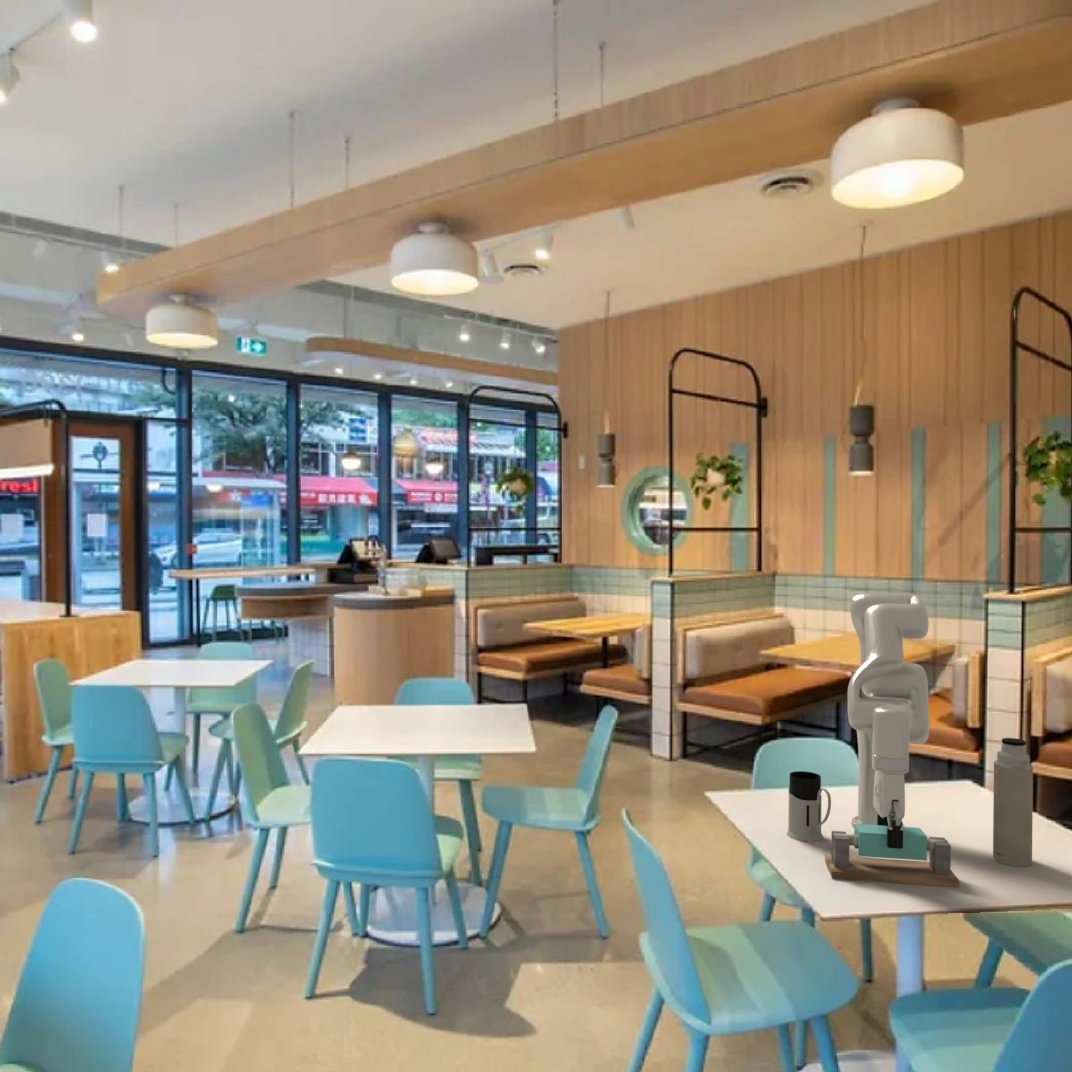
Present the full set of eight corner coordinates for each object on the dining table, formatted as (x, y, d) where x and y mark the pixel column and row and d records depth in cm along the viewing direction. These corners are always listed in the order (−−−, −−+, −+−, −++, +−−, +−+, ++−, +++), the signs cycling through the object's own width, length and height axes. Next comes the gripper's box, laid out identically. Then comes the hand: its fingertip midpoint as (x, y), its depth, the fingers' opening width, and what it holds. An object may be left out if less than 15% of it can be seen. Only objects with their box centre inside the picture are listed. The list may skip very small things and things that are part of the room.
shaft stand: (824, 861, 203) (825, 825, 203) (945, 869, 199) (945, 833, 199) (831, 878, 193) (832, 840, 193) (958, 887, 189) (959, 848, 189)
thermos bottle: (986, 853, 208) (987, 735, 208) (1019, 853, 209) (1020, 735, 209) (1005, 866, 200) (1006, 743, 200) (1039, 866, 201) (1040, 743, 201)
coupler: (854, 846, 200) (854, 823, 200) (919, 851, 198) (919, 827, 198) (859, 856, 194) (859, 832, 194) (926, 860, 192) (927, 836, 192)
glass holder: (808, 827, 226) (809, 769, 226) (844, 846, 213) (845, 784, 212) (779, 831, 223) (779, 772, 223) (814, 850, 210) (814, 787, 210)
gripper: (864, 752, 205) (864, 826, 205) (881, 772, 188) (880, 853, 188) (899, 754, 204) (898, 828, 204) (918, 774, 187) (917, 855, 187)
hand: (889, 840), depth 196 cm, fingers open, 9 cm apart
